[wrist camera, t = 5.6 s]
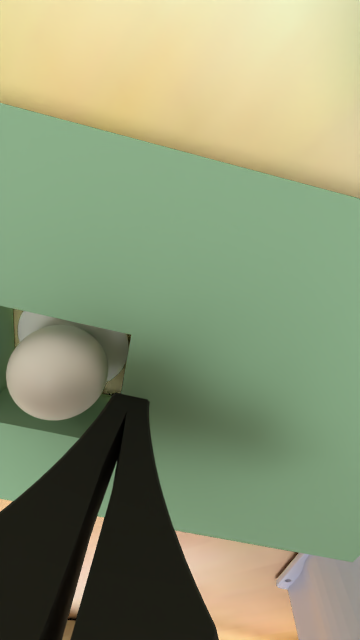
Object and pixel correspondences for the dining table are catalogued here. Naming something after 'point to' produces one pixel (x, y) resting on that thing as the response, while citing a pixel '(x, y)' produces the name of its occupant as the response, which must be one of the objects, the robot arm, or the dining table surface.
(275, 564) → the dining table surface
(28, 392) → the ball
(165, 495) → the putting mat
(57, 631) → the robot arm
